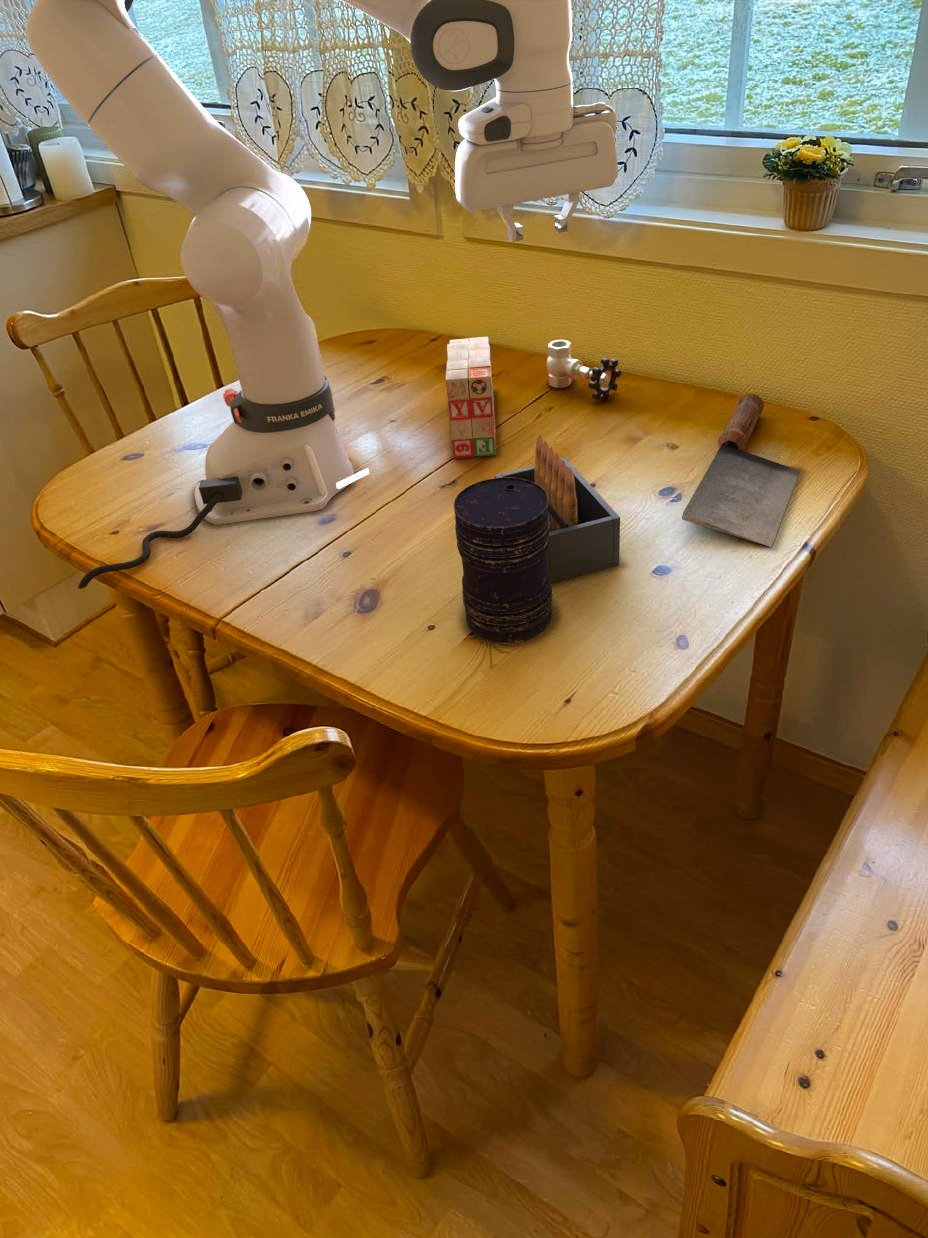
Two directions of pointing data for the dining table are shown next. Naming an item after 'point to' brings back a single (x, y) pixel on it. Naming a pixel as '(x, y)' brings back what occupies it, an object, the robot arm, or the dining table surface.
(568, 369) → the valve
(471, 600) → the dark blue cylinder
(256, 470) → the robot arm
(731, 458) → the meat cleaver
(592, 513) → the bin
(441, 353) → the dining table surface
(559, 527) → the ammunition clip
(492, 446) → the stack of blocks
